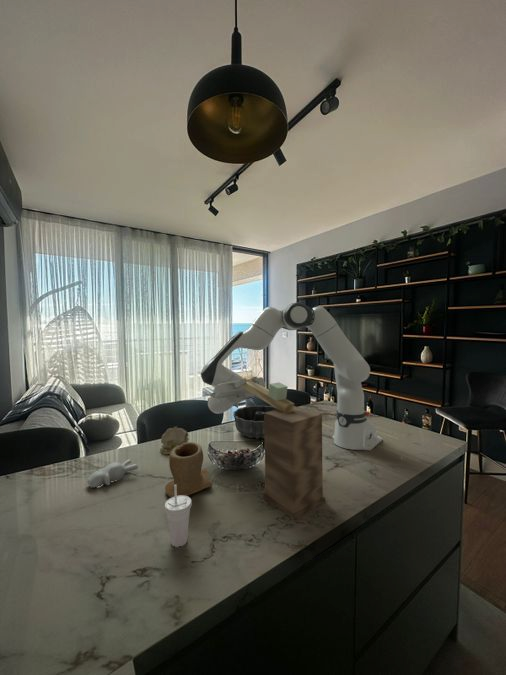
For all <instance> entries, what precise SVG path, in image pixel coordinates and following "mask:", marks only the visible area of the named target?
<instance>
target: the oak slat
mask: <svg viewBox="0 0 506 675" xmlns="http://www.w3.org/2000/svg"><path fill="white" fill-rule="evenodd" d="M243 389H245V390H247V391H248V392H250V393H252V394H253V395H254V396H255V397H257V398H258V399H260V400H262V401H264V402H265V403H267V404H268V405H269V406H272V407H275V408H277V409H278V410H280V411H282V412H283V413H289V412H292V411H293V410H294V406H295V403H294V402H292V401H290V400H289V399H287V398H286V399H282V400H278V401H276V400H274V399H273V398H271V397H269V396H268V393H269V388H267V387H263V386H261V385H259V384H257V383H256V382H254V381H252V380H250V381H247V383H246V384H244V385H243Z"/></svg>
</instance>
